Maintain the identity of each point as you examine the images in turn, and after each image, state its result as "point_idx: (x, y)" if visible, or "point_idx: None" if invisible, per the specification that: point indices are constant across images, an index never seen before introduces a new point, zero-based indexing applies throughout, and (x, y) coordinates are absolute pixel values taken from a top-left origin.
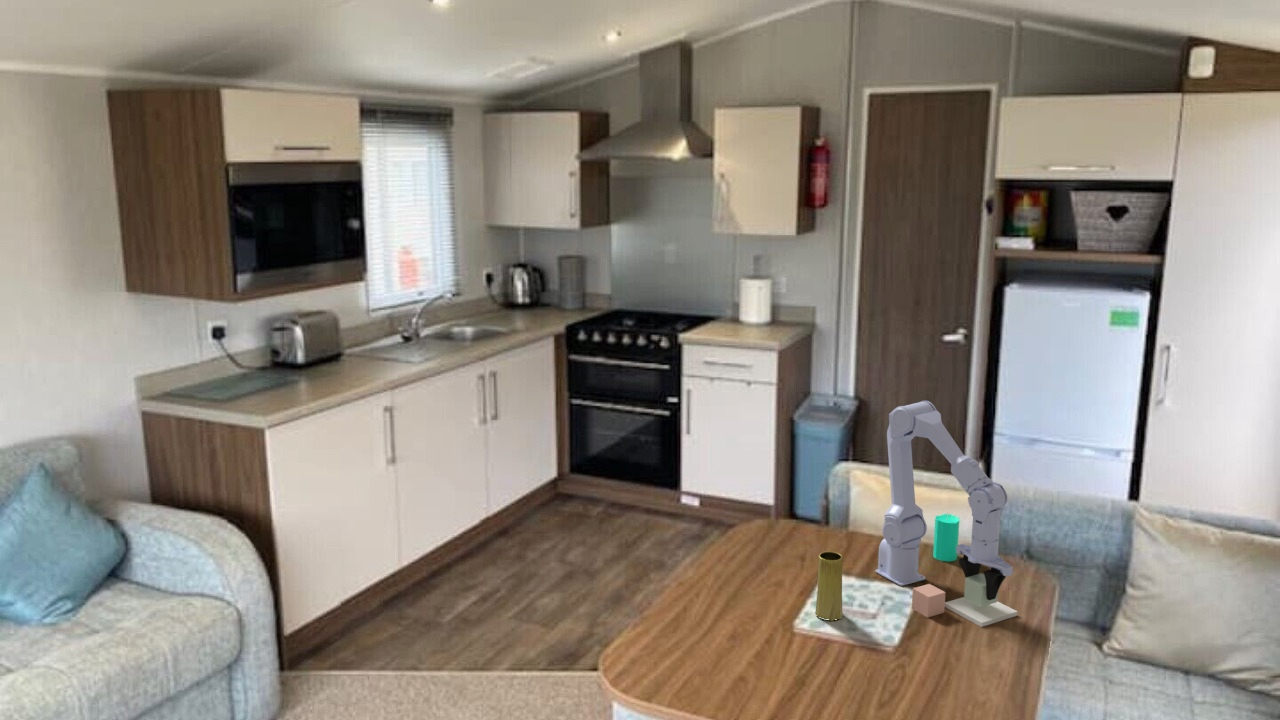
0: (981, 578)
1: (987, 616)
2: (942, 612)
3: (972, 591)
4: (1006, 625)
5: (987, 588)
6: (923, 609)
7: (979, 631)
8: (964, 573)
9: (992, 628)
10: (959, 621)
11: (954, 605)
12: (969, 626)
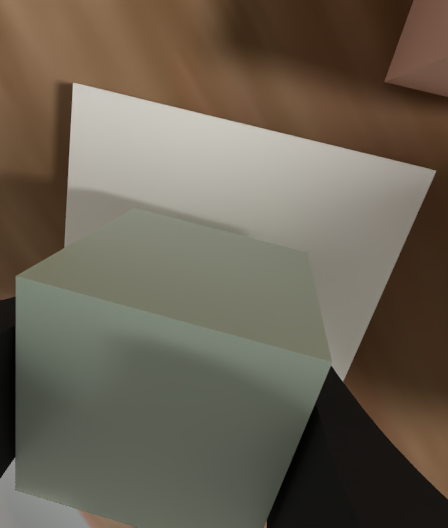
0: (169, 458)
1: (108, 201)
2: (392, 61)
3: (210, 266)
4: (29, 224)
5: (15, 313)
6: None
7: (58, 14)
8: (393, 450)
9: (43, 128)
10: (229, 39)
11: (352, 185)
12: (141, 26)
